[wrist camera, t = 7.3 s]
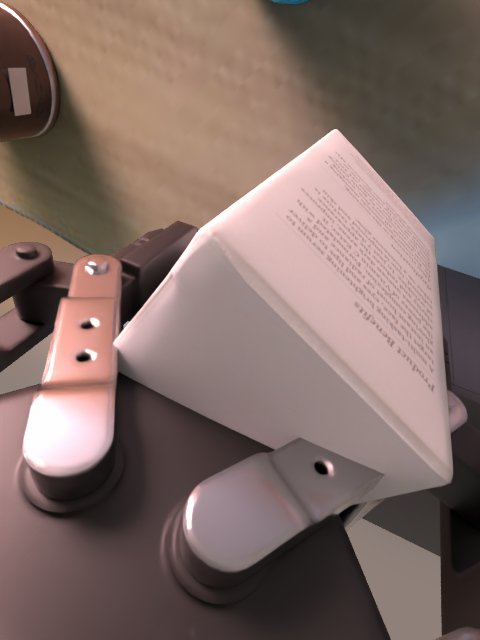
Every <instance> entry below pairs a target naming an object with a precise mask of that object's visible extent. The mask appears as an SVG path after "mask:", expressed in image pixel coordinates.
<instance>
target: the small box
mask: <svg viewBox="0 0 480 640" xmlns="http://www.w3.org/2000/svg"><path fill="white" fill-rule="evenodd" d="M113 344H114V345H115V346H116V347H117V348H118V371H119V372H121V373H122V374H124V375H126V376H128V377H129V378H131V379H133V380H135V381H137V382H139V383H141V384H143V385H144V386H146V387H148V388H150V389H152V390H154V391H156V392H158V393H160V394H162V395H164V396H165V397H167V398H169V399H171V400H173V401H175V402H177V403H179V404H181V405H183V406H185V407H187V408H189V409H191V410H193V411H195V412H197V413H199V414H201V415H203V416H205V417H207V418H209V419H211V420H214V421H216V422H218V423H220V424H222V425H224V426H226V427H228V428H230V429H232V430H235V431H237V432H239V433H241V434H243V435H245V436H247V437H249V438H251V439H254V440H256V441H258V442H260V443H262V444H264V445H266V446H268V447H270V448H273V449H275V450H276V449H278V448H280V447H282V446H284V445H286V444H288V443H290V442H292V441H293V440H295V439H297V438H299V437H300V438H302V439H305V440H307V441H309V442H311V443H314V444H316V445H318V446H320V447H323V448H325V449H327V450H330V451H332V452H334V453H336V454H339V455H341V456H343V457H345V458H348V459H350V460H352V461H355V462H357V463H359V464H362V465H364V466H367V467H369V468H371V469H374V470H376V471H378V472H381V473H383V474H385V476H384V477H383V478H382V479H381V480H380V481H379V483H378V484H377V485H376V486H375V487H374V489H372V490H371V491H370V492H368V493H367V494H366V495H364V496H363V497H361V498H360V499H359V500H357V501H356V502H354V503H353V504H352V505H356V504H361V503H366V502H370V501H375V500H379V499H384V498H388V497H393V496H398V495H402V494H407V493H412V492H416V491H420V490H425V489H430V488H435V487H442V486H444V485H447V484H449V483H451V481H452V478H453V460H452V447H451V434H450V421H449V410H448V397H447V386H446V374H445V362H444V349H443V332H442V321H441V308H440V296H439V284H438V272H437V260H436V247H435V239H434V238H433V237H432V235H431V234H430V233H429V232H428V231H427V230H426V228H425V227H424V226H423V225H422V224H421V222H420V221H419V220H418V219H417V218H416V217H415V215H414V214H413V213H412V212H411V211H410V210H409V209H408V207H407V206H406V205H405V204H404V203H403V202H402V201H401V199H400V198H399V197H398V196H397V195H396V194H395V193H394V192H393V191H392V189H391V188H390V187H389V186H388V185H387V184H386V183H385V182H384V180H383V179H382V178H381V177H380V176H379V175H378V174H377V173H376V171H375V170H374V169H373V168H372V167H371V166H370V165H369V163H368V162H367V161H366V160H365V159H364V158H363V157H362V156H361V154H360V153H359V152H358V151H357V150H356V149H355V148H354V147H353V146H352V145H351V143H350V142H349V141H348V140H347V139H346V138H345V137H344V136H343V135H342V134H341V132H340V131H338V130H337V129H335V130H333V131H331V132H330V133H329V134H327V135H326V136H325V137H323V138H322V139H321V140H319V141H318V142H317V143H316V144H314V145H313V146H312V147H310V148H309V149H308V150H306V151H305V152H303V153H302V154H301V155H299V156H298V157H297V158H295V159H294V160H293V161H291V162H290V163H289V164H287V165H286V166H285V167H283V168H282V169H280V170H279V171H278V172H276V173H275V174H273V175H272V176H271V177H269V178H268V179H267V180H265V181H264V182H263V183H261V184H260V185H259V186H257V187H256V188H255V189H253V190H252V191H250V192H249V193H248V194H246V195H245V196H244V197H242V198H241V199H240V200H238V201H237V202H236V203H234V204H233V205H232V206H230V207H229V208H228V209H226V210H225V211H224V212H222V213H221V214H220V215H218V216H217V217H216V218H214V219H213V220H212V221H210V222H209V223H208V224H206V225H205V226H204V227H202V228H201V229H200V230H199V231H198V232H197V233H196V235H195V236H194V238H193V239H192V241H191V242H190V244H189V245H188V247H187V248H186V250H185V251H184V253H183V254H182V255H181V257H180V258H179V259H178V261H177V262H176V264H175V265H174V267H173V268H172V269H171V271H170V272H169V274H168V275H167V277H166V278H165V279H164V280H163V282H162V283H161V284H160V285H159V287H158V288H157V289H156V290H155V292H154V293H153V294H152V296H151V297H150V298H149V299H148V301H147V302H146V303H145V304H144V306H143V307H142V308H141V309H140V311H139V312H138V313H137V314H136V315H135V317H134V318H133V319H132V320H131V321H130V323H129V324H128V325H127V326H126V328H125V329H124V330H123V331H122V332H121V334H120V335H119V336H118V337H117V338H116V340H115V341H114V342H113ZM352 505H350V506H352Z"/></svg>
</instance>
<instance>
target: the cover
mask: <svg viewBox="0 0 480 640" xmlns="http://www.w3.org/2000/svg"><path fill="white" fill-rule="evenodd" d="M437 272H438V284H439V296H440V308H441V321H442V332H443V336H444V338H445V339H446V341H447V342H448V351H449V354H448V356H449V362H450V363H449V365H450V374H451V385H452V393H453V394H455V395H456V396H457V397H458V398H459V399H460V400H461V402H462V403H463V404H464V406H465V408H466V411H467V421H468V422H469V423H470V424H471V425H472V426H474V427H475V428H477V429H478V430H480V279H478V278H475V277H472V276H469V275H466V274H463V273H460V272H457V271H454V270H451V269H448V268H445V267H442V266H439V265H437ZM362 518H363V519H365V520H367V521H369V522H371V523H373V524H375V525H377V526H379V527H381V528H383V529H386V530H387V531H389V532H391V533H393V534H396V535H398V536H400V537H402V538H404V539H406V540H408V541H410V542H412V543H414V544H416V545H418V546H420V547H422V548H424V549H426V550H428V551H430V552H432V553H434V554H436V555H438V556H440V557H441V551H440V500H439V499H437V498H436V497H435V496H434V495H432V494H431V493H430V492H428V491H427V490H426V489H425V490H420V491H416V492H412V493H407V494H402V495H398V496H393V497H388V498H386V499H384V500H383V501H382V502H381V503H379V504H378V505H377V506H375V507H374V508H373V509H371V510H370V511H369V512H368V513H367V514H366V515H365V516H363V517H362Z"/></svg>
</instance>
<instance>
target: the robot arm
mask: <svg viewBox="0 0 480 640" xmlns="http://www.w3.org/2000/svg"><path fill="white" fill-rule="evenodd" d="M58 109H59V87H58V81H57V76H56V72H55V69H54V66H53V63H52V60H51V57H50V55H49V53H48V50H47V48H46V46H45V44H44V43H43V41H42V39H41V37H40V36H39V34H38V33H37V31H36V30H35V29H34V27H33V26H32V25H31V23H30V22H29V21H28V20H27V19H26V18H25V17H24V16H23V15H22V14H21V13H20V12H18V11H17V10H16V9H14V8H13V7H11V6H10V5H7V4H5V3H3V2H0V142H5V141H10V140H15V139H20V138H32V137H38V136H41V135H44V134H45V133H47V132H48V131H49V130H50V129H51V128H52V126H53V125H54V123H55V121H56V118H57V114H58ZM197 232H198V228H197V227H194V226H192V225H189V224H186V223H183V222H180V221H177V222H175V223H174V224H172V225H171V226H169V227H168V228H166V229H165V230H164V229H159V230H155V231H151V232H148V233H147V234H145V235H144V236H142V237H140V239H137V240H136V241H134V242H133V244H132V243H131V244H130V245H128V246H126V247H125V248H123V249H122V250H120V251H119V252H117V253H115V254H114V255H112V256H108V255H103V254H92V255H87V256H84V257H81V258H80V259H78V260H77V261H76V262H75V264H71V263H65V262H59V261H53V257H52V252H51V249H50V248H49V247H48V246H46V245H44V244H41V243H37V242H20V243H15V244H12V245H9V246H7V247H5V248H3V249H1V250H0V303H1V302H3V301H5V300H7V299H8V298H10V297H12V296H13V300H14V304H15V308H14V309H12V310H11V311H9V312H8V313H6V314H5V315H3V316H1V317H0V372H1V371H3V370H4V369H5V368H7V367H8V366H9V365H11V364H12V363H13V362H14V361H16V360H17V359H18V358H20V357H21V356H22V355H23V354H25V353H26V352H27V351H29V350H30V349H31V348H33V347H34V346H35V345H36V344H38V343H39V342H40V341H42V340H43V339H44V338H46V337H47V336H48V335H49V334H51V333H52V332H53V335H52V339H51V344H50V349H49V353H48V357H47V362H46V366H45V370H44V376H43V379H42V383H41V384H37V385H34V386H30V387H26V388H23V389H19V390H16V391H12V392H9V393H5V394H1V395H0V640H391V639H390V636H389V634H388V632H387V629H386V627H385V624H384V622H383V619H382V617H381V615H380V613H379V610H378V608H377V605H376V602H375V600H374V598H373V595H372V593H371V590H370V588H369V586H368V583H367V581H366V578H365V576H364V574H363V571H362V569H361V566H360V564H359V561H358V559H357V557H356V554H355V552H354V549H353V547H352V545H351V542H350V540H349V537H348V535H347V533H346V531H348V530H349V529H350V528H351V527H352V526H354V525H355V524H356V523H357V522H358V521H359V520H360V519H361V518H362V517H363V516H365V515H366V514H367V513H368V512H369V511H370V510H371V509H373V508H374V507H375V506H377V505H378V504H379V503H381V502H382V501H383V500H384V499H386V498H384V499H379V500H375V501H370V502H366V503H361V504H356V505H352V504H353V503H354V502H356V501H357V500H359V499H360V498H361V497H363V496H364V495H366V494H367V493H368V492H370V491H371V490H372V489H374V487H375V486H376V485H377V484H378V483H379V481H380V480H381V479H382V478H383V477H384V476H385V474H383V473H381V472H378V471H376V470H374V469H371V468H369V467H367V466H364V465H362V464H359V463H357V462H355V461H352V460H350V459H348V458H345V457H343V456H341V455H339V454H336V453H334V452H332V451H330V450H327V449H325V448H323V447H320V446H318V445H316V444H314V443H311V442H309V441H307V440H305V439H302V438H300V437H299V438H297V439H295V440H293V441H292V442H290V443H288V444H286V445H284V446H282V447H280V448H278V449H276V450H275V449H273V448H270V447H268V446H266V445H264V444H262V443H260V442H258V441H256V440H254V439H251V438H249V437H247V436H245V435H243V434H241V433H239V432H237V431H235V430H232V429H230V428H228V427H226V426H224V425H222V424H220V423H218V422H216V421H214V420H211V419H209V418H207V417H205V416H203V415H201V414H199V413H197V412H195V411H193V410H191V409H189V408H187V407H185V406H183V405H181V404H179V403H177V402H175V401H173V400H171V399H169V398H167V397H165V396H164V395H162V394H160V393H158V392H156V391H154V390H152V389H150V388H148V387H146V386H144V385H143V384H141V383H139V382H137V381H135V380H133V379H131V378H129V377H128V376H126V375H124V374H122V373H121V372H119V371H118V348H117V347H116V346H115V345H114V344H113V342H114V341H115V340H116V338H117V337H118V336H119V335H120V334H121V332H122V331H123V330H124V328H123V325H124V324H125V323H126V322H127V321H131V320H132V319H133V318H134V317H135V315H136V314H137V313H138V312H139V311H140V309H141V308H142V307H143V306H144V304H145V303H146V302H147V301H148V299H149V298H150V297H151V296H152V294H153V293H154V292H155V290H156V289H157V288H158V287H159V285H160V284H161V283H162V282H163V280H164V279H165V278H166V277H167V275H168V274H169V272H170V271H171V269H172V268H173V267H174V265H175V264H176V262H177V261H178V259H179V258H180V257H181V255H182V254H183V253H184V251H185V250H186V248H187V247H188V245H189V244H190V242H191V241H192V239H193V238H194V236H195V235H196V233H197ZM443 349H444V362H445V374H446V386H447V397H448V410H449V421H450V434H451V447H452V460H453V478H452V481H451V483H449V484H447V485H444V486H442V487H435V488H430V489H426V490H427V491H428V492H430V493H431V494H432V495H434V496H435V497H436V498H437V499H439V500H440V551H441V612H442V613H441V616H442V636H441V637H439V638H436V639H434V640H480V430H478V429H477V428H475V427H474V426H472V425H471V424H470V423H469V422H468V421H467V411H466V408H465V406H464V404H463V403H462V402H461V400H460V399H459V398H458V397H457V396H456V395H455V394H453V393H452V385H451V374H450V365H449V363H450V362H449V356H448V354H449V351H448V342H447V341H446V339H445V338H444V336H443ZM350 505H352V506H350Z"/></svg>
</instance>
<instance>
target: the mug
mask: <svg viewBox="0 0 480 640" xmlns="http://www.w3.org/2000/svg"><path fill="white" fill-rule="evenodd" d="M271 1H273V2H276V3H285V4H301V3H303V2H306V1H309V0H271Z"/></svg>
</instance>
